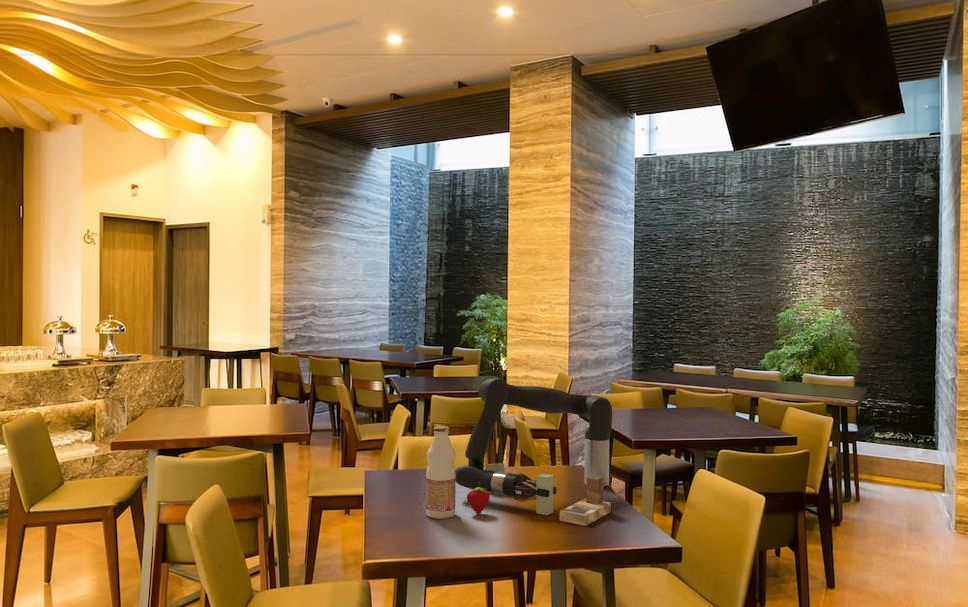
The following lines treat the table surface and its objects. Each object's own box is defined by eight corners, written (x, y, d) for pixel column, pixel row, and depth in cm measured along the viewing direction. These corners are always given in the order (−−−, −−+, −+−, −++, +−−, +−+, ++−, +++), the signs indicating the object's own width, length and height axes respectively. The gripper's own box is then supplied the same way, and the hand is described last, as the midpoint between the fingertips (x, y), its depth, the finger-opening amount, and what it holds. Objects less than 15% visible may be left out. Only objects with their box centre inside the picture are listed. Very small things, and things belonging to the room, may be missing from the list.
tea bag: (505, 492, 247) (505, 464, 247) (487, 493, 245) (487, 465, 245) (502, 489, 250) (502, 462, 251) (484, 491, 249) (484, 463, 249)
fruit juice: (433, 521, 212) (434, 430, 213) (421, 513, 220) (421, 425, 221) (460, 516, 217) (461, 428, 217) (447, 509, 225) (448, 423, 225)
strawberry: (464, 512, 222) (464, 481, 222) (486, 510, 224) (487, 479, 224) (469, 517, 216) (469, 485, 216) (491, 515, 218) (492, 484, 218)
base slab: (585, 507, 229) (585, 474, 229) (610, 512, 223) (610, 478, 224) (559, 520, 214) (559, 485, 214) (585, 525, 209) (586, 489, 209)
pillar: (542, 510, 224) (542, 473, 224) (553, 512, 222) (553, 475, 222) (536, 513, 221) (536, 475, 221) (547, 515, 218) (547, 477, 218)
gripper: (495, 477, 224) (541, 485, 214) (518, 469, 235) (563, 476, 225) (495, 500, 223) (541, 509, 214) (518, 490, 235) (563, 499, 225)
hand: (552, 492), depth 220 cm, fingers closed on pillar, 4 cm apart
